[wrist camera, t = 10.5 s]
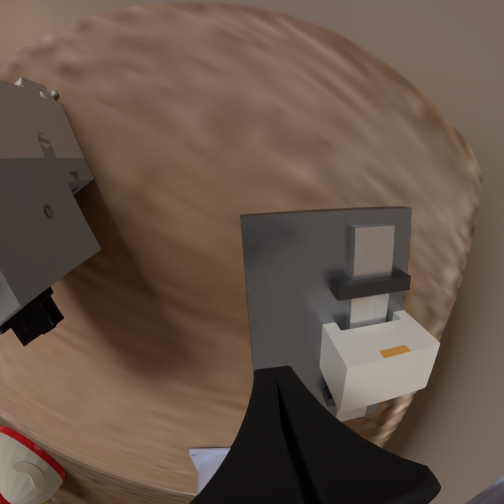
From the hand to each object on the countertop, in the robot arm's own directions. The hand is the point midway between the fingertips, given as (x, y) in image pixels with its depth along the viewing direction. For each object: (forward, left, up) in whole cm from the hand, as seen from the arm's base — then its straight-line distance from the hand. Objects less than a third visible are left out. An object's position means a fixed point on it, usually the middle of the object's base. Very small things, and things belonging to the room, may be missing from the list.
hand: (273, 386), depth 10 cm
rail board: (-5, -5, -10) cm, 12 cm away
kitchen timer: (-29, +39, -10) cm, 50 cm away
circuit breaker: (+8, +14, -10) cm, 19 cm away
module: (-5, -8, -9) cm, 13 cm away
